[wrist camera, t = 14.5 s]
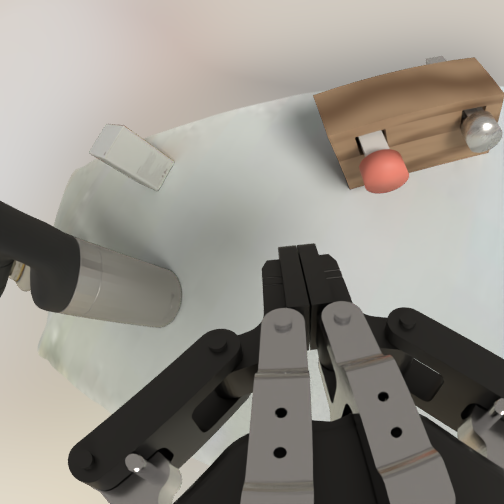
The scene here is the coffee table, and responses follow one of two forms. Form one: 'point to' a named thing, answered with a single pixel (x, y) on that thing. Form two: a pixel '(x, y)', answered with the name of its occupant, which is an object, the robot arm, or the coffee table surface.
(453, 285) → the coffee table surface
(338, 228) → the coffee table surface
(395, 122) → the walnut housing
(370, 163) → the red plunger
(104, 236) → the coffee table surface
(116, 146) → the small box
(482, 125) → the grey plunger
